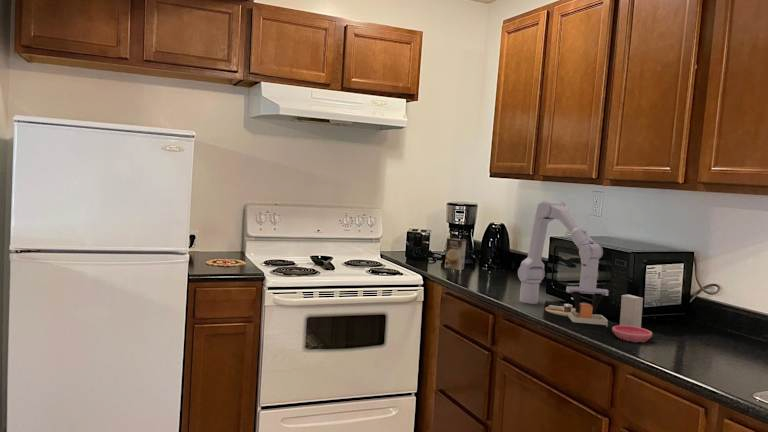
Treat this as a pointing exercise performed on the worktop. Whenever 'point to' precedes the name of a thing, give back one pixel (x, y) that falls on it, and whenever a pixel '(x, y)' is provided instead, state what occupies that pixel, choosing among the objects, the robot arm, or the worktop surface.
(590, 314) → the block
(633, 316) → the skincare box
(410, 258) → the worktop surface
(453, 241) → the coffee box
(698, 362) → the worktop surface
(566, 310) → the crank plate
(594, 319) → the tray
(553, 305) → the dark grey cylinder
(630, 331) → the pink bowl
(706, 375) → the worktop surface
